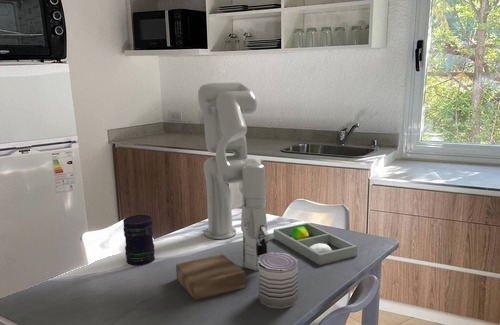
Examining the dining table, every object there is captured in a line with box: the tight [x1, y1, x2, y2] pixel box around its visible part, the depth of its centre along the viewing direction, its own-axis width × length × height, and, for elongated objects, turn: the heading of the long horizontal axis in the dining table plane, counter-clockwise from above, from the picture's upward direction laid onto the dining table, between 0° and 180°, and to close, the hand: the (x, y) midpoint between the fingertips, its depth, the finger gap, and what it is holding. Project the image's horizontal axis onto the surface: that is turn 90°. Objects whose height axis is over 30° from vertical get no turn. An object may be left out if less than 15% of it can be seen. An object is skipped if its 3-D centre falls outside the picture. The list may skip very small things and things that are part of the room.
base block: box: [175, 253, 246, 301], centre depth 141 cm, size 16×16×5 cm
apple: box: [291, 226, 310, 240], centre depth 173 cm, size 7×6×9 cm
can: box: [258, 251, 299, 310], centre depth 130 cm, size 11×11×12 cm
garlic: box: [310, 243, 333, 254], centre depth 162 cm, size 8×7×4 cm
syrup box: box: [242, 226, 263, 272], centre depth 152 cm, size 6×6×14 cm
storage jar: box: [122, 214, 156, 267], centre depth 159 cm, size 10×10×15 cm
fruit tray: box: [273, 222, 358, 266], centre depth 169 cm, size 30×16×4 cm, turn 28°
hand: (255, 251), depth 152 cm, fingers open, 9 cm apart
